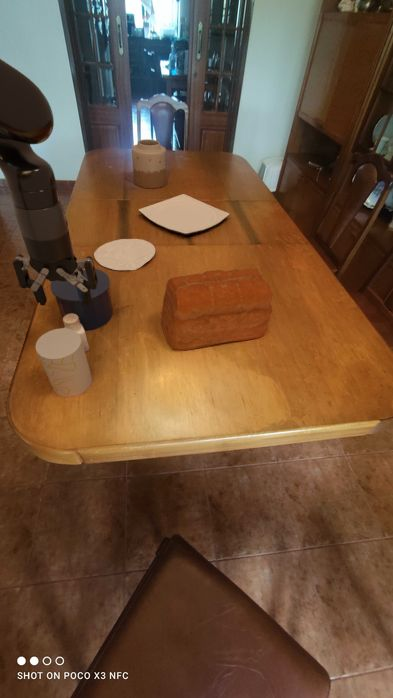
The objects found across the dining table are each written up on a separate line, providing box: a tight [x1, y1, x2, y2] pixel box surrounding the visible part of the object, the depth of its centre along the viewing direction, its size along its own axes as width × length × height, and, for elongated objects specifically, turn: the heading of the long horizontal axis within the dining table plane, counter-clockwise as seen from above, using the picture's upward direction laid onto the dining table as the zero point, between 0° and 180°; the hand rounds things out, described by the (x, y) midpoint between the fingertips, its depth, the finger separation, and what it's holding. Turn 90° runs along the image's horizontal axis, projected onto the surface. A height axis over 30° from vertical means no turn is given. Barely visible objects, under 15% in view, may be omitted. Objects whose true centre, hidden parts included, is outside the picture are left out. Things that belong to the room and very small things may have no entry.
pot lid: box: [49, 266, 111, 302], centre depth 76 cm, size 14×14×6 cm
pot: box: [54, 287, 114, 332], centre depth 81 cm, size 13×13×10 cm
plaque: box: [93, 238, 156, 271], centre depth 105 cm, size 20×20×2 cm
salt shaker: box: [62, 313, 90, 352], centre depth 72 cm, size 4×4×10 cm
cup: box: [35, 327, 93, 398], centre depth 64 cm, size 8×8×12 cm
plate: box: [138, 193, 230, 236], centre depth 126 cm, size 29×29×3 cm
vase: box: [131, 138, 167, 190], centre depth 145 cm, size 15×15×17 cm
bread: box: [160, 268, 274, 351], centre depth 78 cm, size 14×27×15 cm, turn 106°
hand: (65, 303), depth 66 cm, fingers open, 8 cm apart
